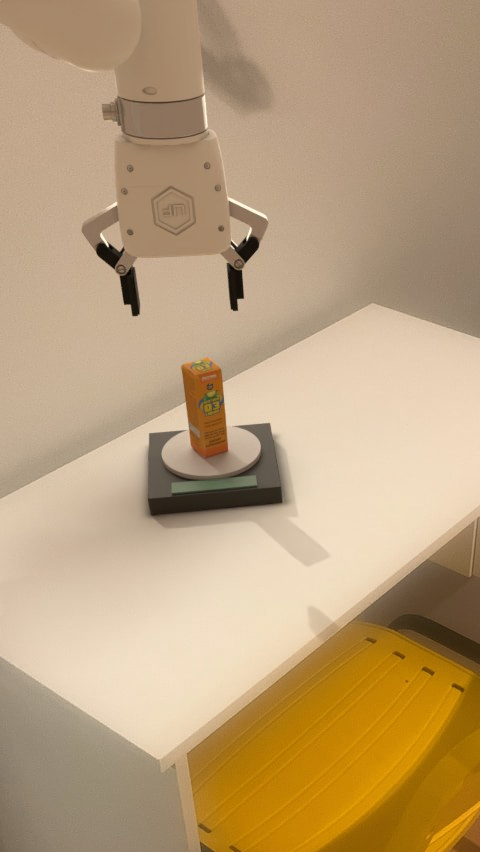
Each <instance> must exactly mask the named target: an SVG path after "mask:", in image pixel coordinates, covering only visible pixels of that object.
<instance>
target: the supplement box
mask: <svg viewBox="0 0 480 852" xmlns="http://www.w3.org/2000/svg"><path fill="white" fill-rule="evenodd" d="M180 370H181V376H182V383H183V390H184V392H183V393H184V400H185V407H186V409H185V410H186V416H187V417H186V418H187V424H188V425H187V426H188V430H189V434H190V443H191V446H192V448H193V449H194V450H195V451H196V452H198V453H199V454H200V455H201V456H202V457H203V458H207V457H210V456H213V455H216V454H219V453H222V452H225V451H228V440H227V427H226V426H227V416H226V415H227V414H226V405H225V404H226V403H225V395H224V394H225V393H224V392H225V391H224V382H223V373H222V368H221V367H220V366H219V365H218V364H217V363H215V362H214V361H213V360H212V359H211V358H209V357H204V358H201V359H199V360H194V361H190V362H186V363H182V364H181V365H180Z"/></svg>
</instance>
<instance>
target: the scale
mask: <svg viewBox="0 0 480 852" xmlns="http://www.w3.org/2000/svg"><path fill="white" fill-rule="evenodd" d="M226 427H227V440H228V451H225V452H222V453H219V454H216V455H213V456H210V457H207V458H203V457H202V456H201V455H200V454H199V453H198V452H196V451H195V450H194V449H193V448H192V446H191V443H190V434H189V429H182V430H181V429H180V430H171V431H160V432H159V431H157V432H149V433H148V473H147V474H148V475H147V476H148V477H147V502H148V507H149V512H150V515H152V516H153V515H162V514H163V515H164V514H173V513H184V512H192V511H193V512H195V511H204V510H206V511H207V510H214V509H215V510H217V509H226V508H237V507H246V506H248V507H249V506H258V505H269V504H279V503H283V491H282V484H281V483H282V482H281V479H280V478H281V477H280V472H279V466H278V461H277V454H276V449H275V444H274V443H275V442H274V438H273V432H272V425H271V423H270V422H265V423H264V422H263V423H253V424H239V425H226Z"/></svg>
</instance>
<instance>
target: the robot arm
mask: <svg viewBox="0 0 480 852" xmlns="http://www.w3.org/2000/svg"><path fill="white" fill-rule="evenodd" d="M199 22H200V20H199V10H198V0H0V24H2V25H3V26H5V27H7V28H9V29H10V30H11V32H12V33H13V35H15V37H17V38H18V39H19V40H20V41H21V42H22V43H23V44H25V45H26V46H28V47H29V48H31V49H33V50H35V51H37V52H39V53H40V54H43V55H45V56H48V57H50V58H53V59H55V60H58V61H61V62H64V63H66V64H68V65H70V66H72V67H74V68H77V69H79V70H81V71H85V72H89V73H104V72H109V71H113V75H114V83H115V91H116V95H117V97H115V98H114V101H110V102H109V103H101V111H102V112H101V113H102V119H103V121H104V122H112V123H114V124H115V123H117V126H118V127H120V130H121V131H119V132H118V133H117V134H116V135H115V137H114V142H113V173H114V185H115V187H114V188H115V197H116V201H115V202H114V203H112V204H110V205H109V206H108V207H105V208H104V209H103V210H101V211H99V212H98V213H96V214H95V215H94V214H93V216H91V217H89V218H88V219H86V220H85V221H84V222H82V225H81V233H82V234H83V236H84V238H85V239H86V241H87V242H88V243H89V245H90V246H91V247H92V249H93V250H94V252H95V253H96V256H97V257H98V258H100V259H101V260H102V261H103V262H105V264H107V265H108V266H109V267H111V269H113V270H114V272H115V274H117V275H118V277H119V281H120V282H119V283H120V289H121V295H122V302H123V305H124V306H130V310H131V316H132V317H138V316H139V315H141V301H140V291H139V285H138V280H137V272H136V271H137V270H136V267H135V266H134V263H135V262H136V261H137V259H138V258H139V259H159V258H160V259H161V258H180V257H200V256H201V257H203V256H215V255H219V254H220V255H221V256H222V257H223V258H224V259H225V260H226V261H227V262H226V274H227V287H228V298H229V300H228V301H229V306H230V310H231V311H232V312H239V304H238V300H244V299H245V292H244V278H243V269H244V268H245V266H246V264H247V263H248V261H250V260H251V258H252V257H253V256H254V255H255V254H256V252H257V251H258V250H259V248H260V244H261V242H262V240H263V238H264V236H265V233H266V231H267V229H268V227H269V220H268V217H267V215H266V214H265V213H263V212H261V211H259V210H256V209H254V208H252V207H250V206H248V205H246V204H244V203H242V202H239V201H237V200H235V199H234V198H232V197H229V194H228V193H229V192H228V187H227V186H228V184H227V179H226V178H227V177H226V171H225V164H224V159H223V155H222V150H221V145H220V141H219V138H218V135H217V133H216V131H215V130H213V129H211V128H209V126H208V113H207V103H206V102H207V101H206V91H205V80H204V79H205V78H204V67H203V55H202V45H201V31H200V23H199ZM231 218H234V219H236V220H238V221H239V222H242V223H244V224H246V225H248V226H249V230H248V232H247V233H248V234H247V235H246V236H245V237H244V238H243V240H242V241H241V242H240V243H239V244H237V243H236V242H234V240H233V239H232V221H231V220H232V219H231ZM116 223H118V224H119V232H120V237H121V242H122V247H121V249H120V250H118V249H117V248H116V247H115V246H114V245H112V244H111V242H109V241H107V240H106V238H105V236H104V234H103V233H102V232H103V231H105V230H106V229H108V228H109V227H111V226H113V225H115V224H116Z"/></svg>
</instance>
